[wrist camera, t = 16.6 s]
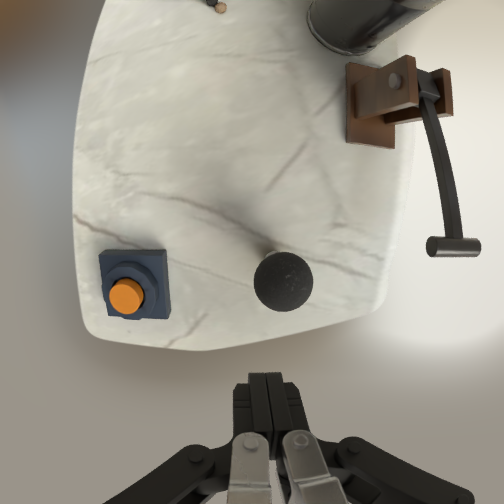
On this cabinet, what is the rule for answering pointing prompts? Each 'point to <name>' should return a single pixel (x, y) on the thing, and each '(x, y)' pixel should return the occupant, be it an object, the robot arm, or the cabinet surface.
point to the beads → (217, 5)
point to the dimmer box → (138, 280)
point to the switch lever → (443, 179)
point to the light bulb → (283, 281)
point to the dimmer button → (126, 296)
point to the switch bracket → (388, 100)
